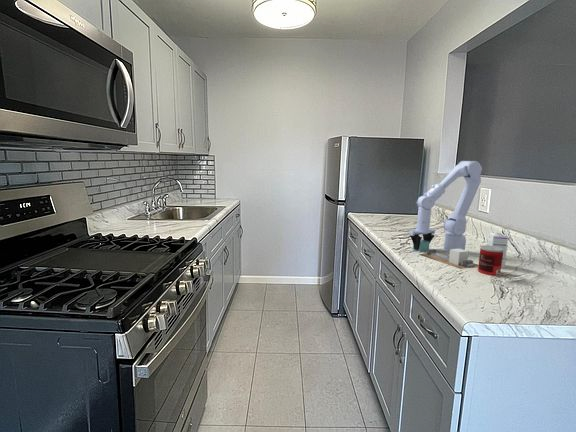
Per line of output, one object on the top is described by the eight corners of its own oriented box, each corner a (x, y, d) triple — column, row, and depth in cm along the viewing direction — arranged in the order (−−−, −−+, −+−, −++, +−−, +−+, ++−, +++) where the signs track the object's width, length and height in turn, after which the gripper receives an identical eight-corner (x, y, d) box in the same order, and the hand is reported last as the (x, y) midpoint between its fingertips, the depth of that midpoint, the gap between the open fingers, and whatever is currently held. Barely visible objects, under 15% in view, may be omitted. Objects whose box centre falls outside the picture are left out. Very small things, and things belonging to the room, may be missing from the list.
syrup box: (504, 270, 139) (509, 236, 137) (488, 269, 141) (493, 235, 138) (499, 266, 145) (503, 233, 142) (483, 265, 146) (488, 232, 144)
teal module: (421, 250, 168) (422, 239, 167) (428, 252, 164) (429, 241, 163) (412, 251, 166) (413, 240, 165) (419, 253, 162) (421, 242, 161)
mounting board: (436, 254, 161) (437, 251, 161) (480, 268, 142) (480, 265, 142) (417, 256, 156) (418, 254, 156) (460, 271, 137) (460, 268, 137)
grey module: (457, 260, 148) (459, 248, 147) (467, 263, 144) (468, 251, 143) (448, 262, 145) (450, 249, 144) (458, 265, 141) (459, 252, 140)
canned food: (497, 273, 136) (500, 246, 134) (502, 279, 129) (506, 251, 127) (475, 270, 138) (478, 244, 137) (479, 277, 131) (482, 249, 129)
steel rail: (432, 252, 159) (432, 248, 159) (473, 266, 141) (473, 261, 140) (425, 253, 157) (425, 249, 157) (466, 267, 139) (466, 262, 138)
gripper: (427, 219, 169) (425, 245, 171) (405, 220, 163) (403, 248, 165) (439, 221, 163) (436, 249, 165) (417, 223, 157) (414, 252, 159)
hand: (420, 249), depth 165 cm, fingers closed on teal module, 6 cm apart
